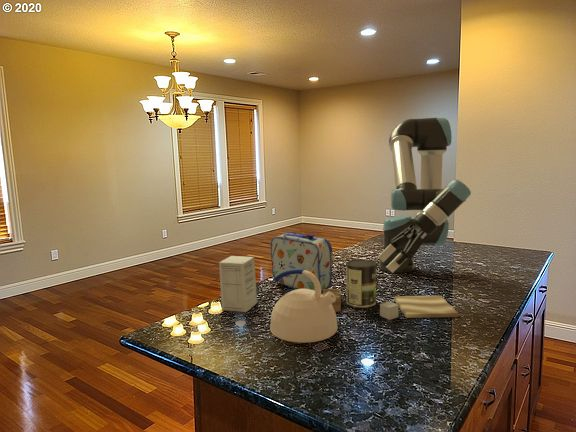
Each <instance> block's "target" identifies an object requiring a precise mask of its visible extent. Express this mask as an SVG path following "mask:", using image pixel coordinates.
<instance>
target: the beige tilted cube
mask: <svg viewBox="0 0 576 432" xmlns="http://www.w3.org/2000/svg"><path fill="white" fill-rule="evenodd" d="M399 309H400V307H399V305H398V304H397V303H396V302H391V301H390V300H389V301H385V302H382V303H379V316H380V317H382V318H384V319H387V320H389V321H391V320H393V319H396V318H399Z"/></svg>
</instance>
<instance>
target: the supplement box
mask: <svg viewBox="0 0 576 432" xmlns="http://www.w3.org/2000/svg"><path fill="white" fill-rule="evenodd" d="M255 262H256V260H255V256H243V255H242V256H241V255H240V256H239V255H238V256H236V255H230V256H228V257H227V258H225V259H222V260H221V261H219V263H218V266H219V269H218V270H219V281H220V282H219V283H220V284H219V285H220V297H221V299H220V300H221V301H220V302H221V310H222V311H229V312H241V313H247V312H248V311H250V310H251V309H252V308H253V307H254V306H255V305H257V303H258V297H257V280H256V265H255V264H256V263H255Z"/></svg>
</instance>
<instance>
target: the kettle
mask: <svg viewBox="0 0 576 432" xmlns="http://www.w3.org/2000/svg"><path fill="white" fill-rule="evenodd" d="M291 274H304V275H306V276H308V277H309V278H310V279H311V280H312V282H313V283H314V286H315V291H314V290H310V289H292V288H288V289H286V290H285V291H284V294H283V296H281V297H280V298H279V300H278V301H276V303H275V305H274V307H273V309H272V310H271V311H272V312H271V314H270V327H269V329H270V330H269V331H270V332H271V333H272V335H273V336H275V337H277V338H278V339H280V340H282V341H286V342H290V343H298V344H301V343H302V344H305V343H315V342H321V341H324V340H327V339H329V338H330V337H332V336H334V335H335V334H336V333H337V331H338V329H339V328H338V321H337V312H335V311H334V308H333V306H332V303H333V302H335V301H336V297H335V295H334V294H333V293H332V292H327V294H325V295H324V296H323V295H322V294H323V293H322V290H321V285H320V282H319V280H318V279H317V277H316V276H315V275H314V274H313V273H311V272H309V271H306V270H300V269H297V270H290V271H286V272H283V273H281V274H279V275H277V276H276V277H275V278H274V277H273V281H274V282H277V281H279V280H280V279H281V278H283V277H285V276H287V275H291Z"/></svg>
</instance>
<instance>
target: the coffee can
mask: <svg viewBox="0 0 576 432" xmlns="http://www.w3.org/2000/svg"><path fill="white" fill-rule="evenodd" d="M345 278H346V280H345V281H346V284H345V287H346V288H345V290H346V291H345V293H346V301H345V303H346V304H347V306H351V307H354V308H361V309H362V308H371V307H373V306H375V305H376V304H377V299H376V298H377V289H376V288H377V286H376V285H377V262H376V261H375V260H374V261H373V260H371V259H370V260H369V259H361V258H360V259H350V260H348V261H346V262H345Z"/></svg>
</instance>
